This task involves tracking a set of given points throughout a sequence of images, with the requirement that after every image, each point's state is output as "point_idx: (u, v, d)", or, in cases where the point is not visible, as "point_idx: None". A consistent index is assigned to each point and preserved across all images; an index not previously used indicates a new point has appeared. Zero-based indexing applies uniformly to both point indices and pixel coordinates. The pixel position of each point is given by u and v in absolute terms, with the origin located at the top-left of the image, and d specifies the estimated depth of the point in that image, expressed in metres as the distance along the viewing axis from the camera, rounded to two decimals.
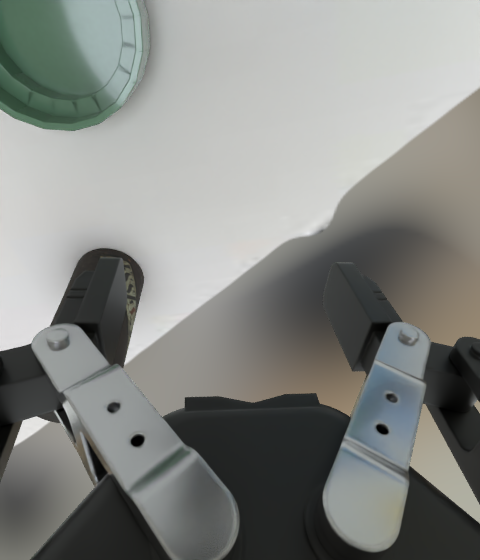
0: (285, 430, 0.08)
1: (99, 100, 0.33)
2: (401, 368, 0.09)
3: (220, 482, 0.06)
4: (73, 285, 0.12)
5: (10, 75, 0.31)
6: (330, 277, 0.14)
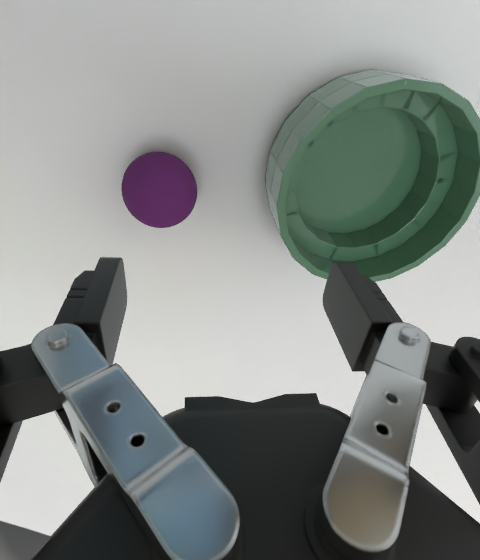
0: (285, 430, 0.08)
1: (447, 151, 0.27)
2: (401, 368, 0.09)
3: (220, 482, 0.06)
4: (73, 285, 0.12)
5: (394, 234, 0.31)
6: (330, 277, 0.14)
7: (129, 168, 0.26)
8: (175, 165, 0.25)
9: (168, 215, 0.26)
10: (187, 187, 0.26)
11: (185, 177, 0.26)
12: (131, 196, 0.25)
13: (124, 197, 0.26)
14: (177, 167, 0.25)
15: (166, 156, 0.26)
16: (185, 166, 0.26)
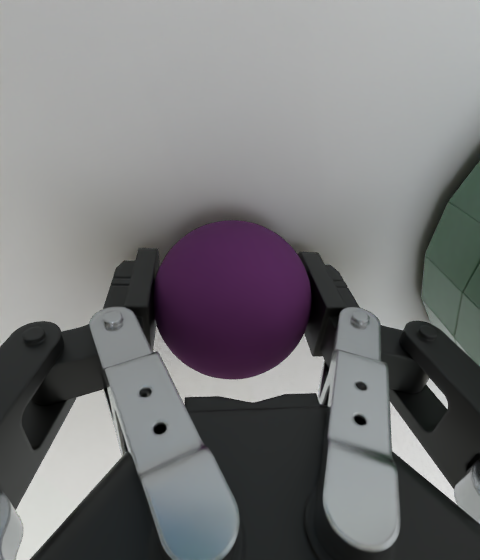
0: (285, 430, 0.08)
1: None
2: (360, 353, 0.10)
3: (227, 488, 0.06)
4: (115, 274, 0.12)
5: None
6: None
7: (171, 267, 0.11)
8: (278, 259, 0.11)
9: (263, 368, 0.11)
10: (304, 303, 0.11)
11: (299, 281, 0.11)
12: (180, 335, 0.11)
13: (161, 329, 0.12)
14: (283, 262, 0.11)
15: (254, 236, 0.11)
16: (292, 251, 0.12)
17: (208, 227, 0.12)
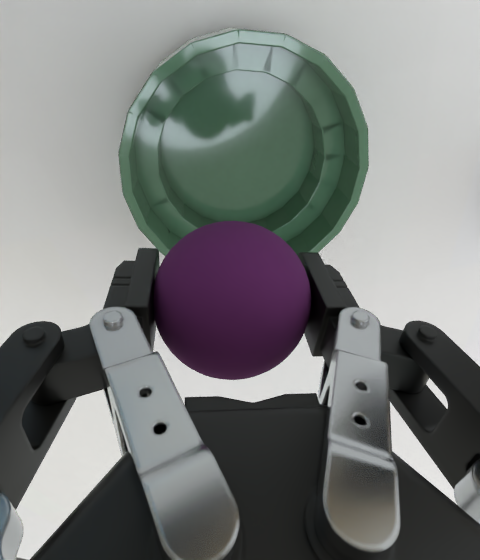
0: (285, 430, 0.08)
1: (329, 122, 0.23)
2: (360, 353, 0.10)
3: (227, 488, 0.06)
4: (115, 274, 0.12)
5: (289, 221, 0.27)
6: None
7: (171, 268, 0.11)
8: (278, 259, 0.11)
9: (262, 368, 0.11)
10: (303, 303, 0.11)
11: (299, 282, 0.11)
12: (180, 336, 0.11)
13: (161, 329, 0.12)
14: (282, 263, 0.11)
15: (254, 236, 0.11)
16: (292, 252, 0.12)
17: (208, 228, 0.12)
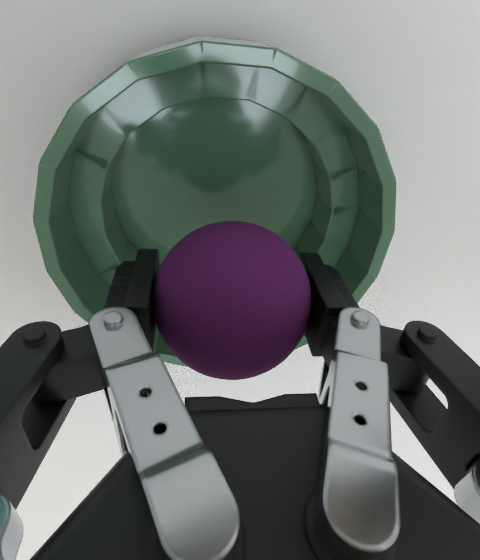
0: (285, 430, 0.08)
1: (339, 166, 0.17)
2: (360, 353, 0.10)
3: (227, 488, 0.06)
4: (115, 274, 0.12)
5: None
6: None
7: (171, 268, 0.11)
8: (279, 259, 0.11)
9: (263, 368, 0.11)
10: (304, 303, 0.11)
11: (299, 282, 0.11)
12: (180, 336, 0.11)
13: (161, 329, 0.12)
14: (282, 263, 0.11)
15: (254, 236, 0.11)
16: (292, 252, 0.12)
17: (208, 228, 0.12)
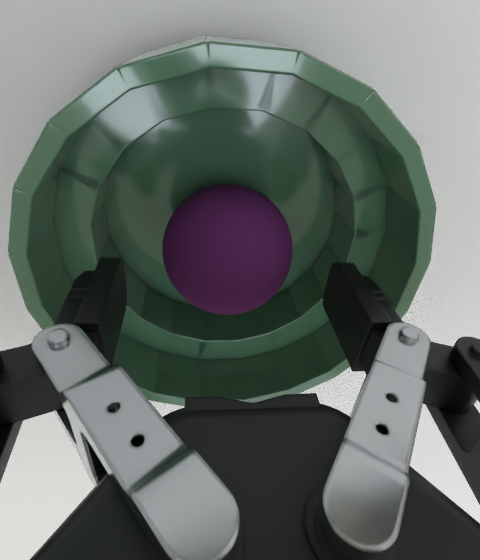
0: (285, 430, 0.08)
1: (365, 185, 0.15)
2: (401, 368, 0.09)
3: (220, 482, 0.06)
4: (73, 285, 0.12)
5: (299, 318, 0.19)
6: (330, 277, 0.14)
7: (178, 219, 0.14)
8: (264, 211, 0.14)
9: (252, 301, 0.14)
10: (285, 248, 0.14)
11: (281, 230, 0.14)
12: (185, 272, 0.14)
13: (170, 270, 0.14)
14: (267, 214, 0.14)
15: (245, 193, 0.14)
16: (276, 208, 0.15)
17: (207, 188, 0.14)
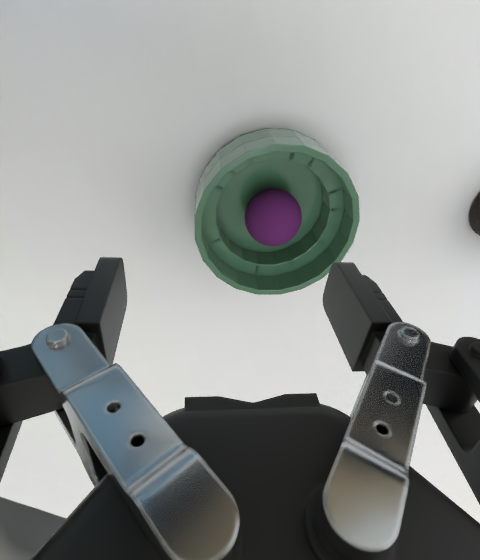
0: (285, 430, 0.08)
1: (333, 188, 0.34)
2: (401, 368, 0.09)
3: (220, 482, 0.06)
4: (73, 285, 0.12)
5: (305, 252, 0.38)
6: (330, 277, 0.14)
7: (254, 203, 0.34)
8: (290, 199, 0.33)
9: (284, 237, 0.34)
10: (298, 215, 0.34)
11: (297, 208, 0.34)
12: (257, 224, 0.33)
13: (250, 225, 0.34)
14: (291, 201, 0.33)
15: (282, 192, 0.34)
16: (295, 199, 0.34)
17: (266, 190, 0.34)
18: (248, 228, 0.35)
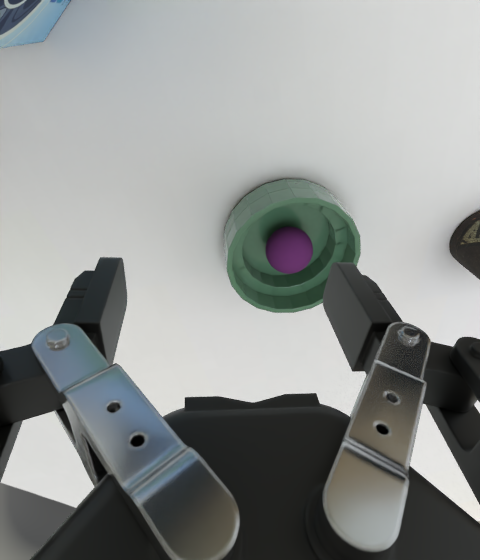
0: (285, 430, 0.08)
1: (339, 227, 0.42)
2: (401, 368, 0.09)
3: (220, 482, 0.06)
4: (73, 285, 0.12)
5: (314, 277, 0.46)
6: (330, 277, 0.14)
7: (274, 239, 0.41)
8: (304, 237, 0.41)
9: (299, 267, 0.41)
10: (310, 249, 0.41)
11: (309, 243, 0.41)
12: (277, 257, 0.41)
13: (270, 257, 0.41)
14: (305, 238, 0.41)
15: (297, 231, 0.41)
16: (307, 235, 0.42)
17: (283, 228, 0.41)
18: (269, 259, 0.42)
